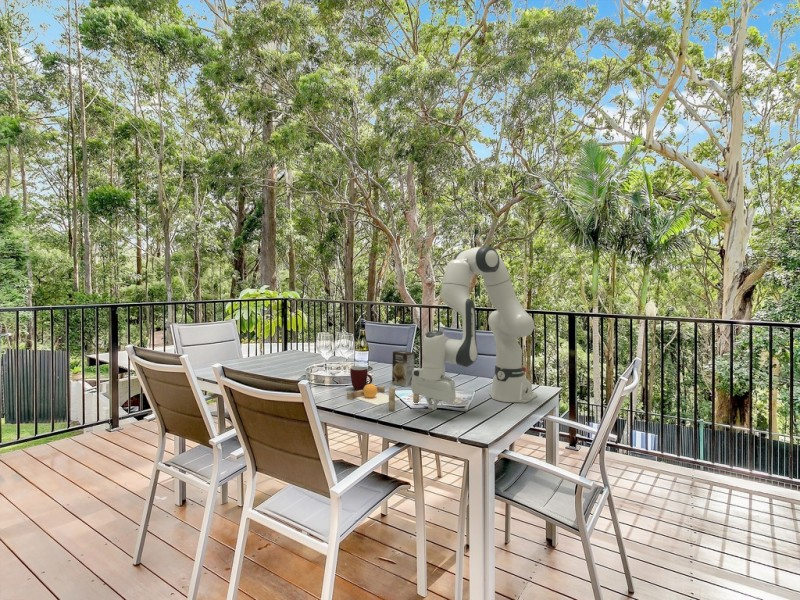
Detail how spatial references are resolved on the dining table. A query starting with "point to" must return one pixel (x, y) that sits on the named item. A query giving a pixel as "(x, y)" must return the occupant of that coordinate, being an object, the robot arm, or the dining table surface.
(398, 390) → the dining table surface
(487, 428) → the dining table surface
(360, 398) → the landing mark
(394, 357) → the coffee box
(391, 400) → the post
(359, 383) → the mug
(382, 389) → the stopper wall
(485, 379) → the dining table surface
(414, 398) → the post
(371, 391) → the ball
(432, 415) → the dining table surface
